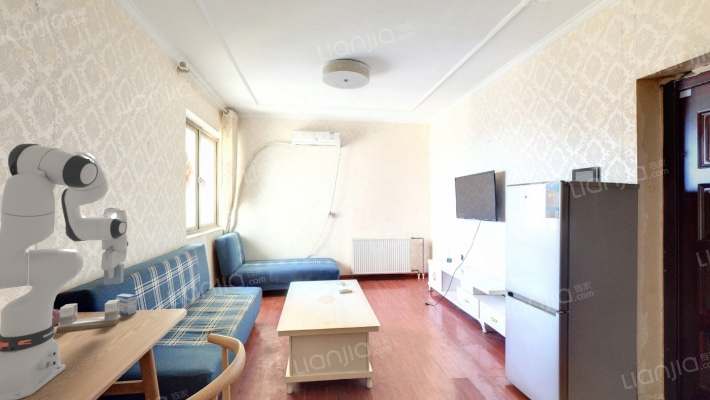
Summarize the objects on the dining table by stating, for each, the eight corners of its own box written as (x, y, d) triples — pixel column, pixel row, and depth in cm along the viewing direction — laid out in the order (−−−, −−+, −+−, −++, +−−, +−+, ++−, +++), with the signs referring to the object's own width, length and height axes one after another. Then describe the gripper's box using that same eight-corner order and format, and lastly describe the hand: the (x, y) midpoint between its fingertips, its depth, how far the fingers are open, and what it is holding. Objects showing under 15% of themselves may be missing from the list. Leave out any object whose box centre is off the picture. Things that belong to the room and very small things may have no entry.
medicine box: (114, 313, 149) (115, 295, 149) (123, 310, 154) (124, 292, 154) (128, 315, 148) (128, 297, 148) (136, 312, 152) (137, 294, 152)
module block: (120, 283, 137) (120, 263, 137) (103, 284, 134) (104, 264, 134) (123, 281, 141) (123, 261, 141) (107, 282, 139) (107, 262, 139)
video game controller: (61, 327, 137) (68, 310, 140) (51, 326, 133) (59, 308, 136) (41, 325, 138) (48, 309, 141) (30, 324, 134) (39, 307, 137)
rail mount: (116, 325, 136) (116, 303, 136) (56, 332, 128) (56, 309, 128) (121, 318, 143) (121, 298, 143) (65, 324, 135) (65, 303, 135)
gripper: (115, 247, 129) (115, 281, 129) (129, 241, 148) (128, 270, 148) (96, 248, 127) (96, 282, 127) (113, 242, 146) (112, 271, 146)
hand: (113, 276), depth 138 cm, fingers closed on module block, 4 cm apart
